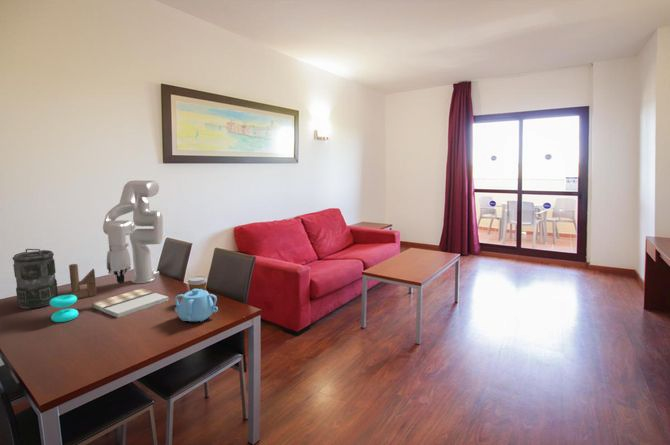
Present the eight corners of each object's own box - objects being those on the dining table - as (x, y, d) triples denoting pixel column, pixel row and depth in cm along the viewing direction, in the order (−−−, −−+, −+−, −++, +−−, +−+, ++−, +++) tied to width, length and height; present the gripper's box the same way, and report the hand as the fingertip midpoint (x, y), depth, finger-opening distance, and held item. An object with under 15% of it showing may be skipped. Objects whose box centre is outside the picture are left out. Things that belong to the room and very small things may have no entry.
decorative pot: (172, 316, 172) (170, 288, 170) (206, 308, 182) (205, 281, 180) (185, 328, 160) (183, 298, 158) (220, 318, 170) (219, 290, 168)
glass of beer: (197, 296, 198) (196, 274, 196) (212, 298, 195) (211, 276, 193) (184, 302, 189) (183, 279, 187) (199, 305, 186) (198, 282, 184)
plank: (142, 291, 203) (142, 288, 203) (153, 295, 198) (153, 292, 198) (91, 306, 181) (91, 302, 180) (103, 311, 176) (102, 307, 175)
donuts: (82, 294, 171) (63, 302, 161) (84, 315, 172) (65, 324, 162) (63, 293, 172) (43, 300, 162) (65, 313, 174) (45, 322, 164)
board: (154, 296, 198) (154, 291, 197) (168, 300, 192) (168, 295, 191) (103, 312, 176) (103, 307, 175) (118, 317, 170) (117, 312, 169)
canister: (9, 309, 177) (2, 252, 173) (35, 297, 193) (29, 245, 189) (42, 309, 177) (36, 252, 173) (66, 298, 193) (60, 245, 189)
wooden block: (96, 295, 198) (93, 262, 195) (72, 299, 191) (68, 266, 188) (95, 293, 201) (92, 261, 198) (71, 297, 194) (68, 264, 191)
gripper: (128, 243, 195) (130, 277, 198) (98, 249, 182) (101, 285, 185) (136, 245, 191) (139, 279, 194) (106, 251, 178) (110, 288, 181)
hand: (120, 282), depth 190 cm, fingers closed
